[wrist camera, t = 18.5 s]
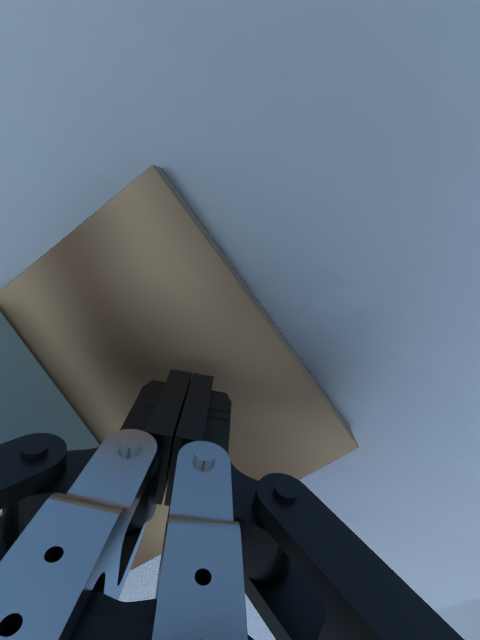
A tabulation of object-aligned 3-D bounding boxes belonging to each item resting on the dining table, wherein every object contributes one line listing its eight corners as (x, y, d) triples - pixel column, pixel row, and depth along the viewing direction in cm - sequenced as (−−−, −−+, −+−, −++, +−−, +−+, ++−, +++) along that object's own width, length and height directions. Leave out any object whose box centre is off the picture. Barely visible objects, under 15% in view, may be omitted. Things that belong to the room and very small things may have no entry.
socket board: (160, 167, 13) (61, 139, 6) (350, 429, 16) (428, 604, 9) (-203, 464, 17) (-499, 645, 10) (6, 619, 20) (-113, 832, 14)
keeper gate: (-5, 305, 13) (-101, 349, 9) (132, 488, 15) (98, 577, 12) (-29, 318, 13) (-133, 366, 9) (110, 496, 16) (70, 587, 12)
